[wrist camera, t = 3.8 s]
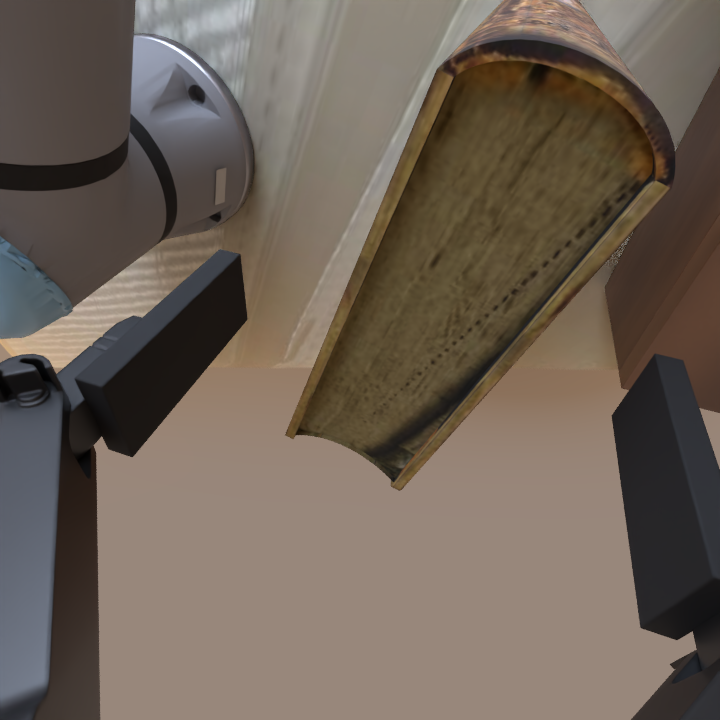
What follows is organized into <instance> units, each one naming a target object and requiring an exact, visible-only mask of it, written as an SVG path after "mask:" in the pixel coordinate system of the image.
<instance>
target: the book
mask: <svg viewBox="0 0 720 720" xmlns="http://www.w3.org/2000/svg"><path fill="white" fill-rule="evenodd" d="M674 176H675V152H674V145H673V142H672V138H671V135H670V132H669V130H668V127H667V125H666V123H665V121H664V119H663V117H662V116H661V114H660V113H659V111H658V110H657V108H656V107H655V106H654V104H653V103H652V101H651V100H650V99H649V97H648V96H647V94H646V93H645V92H644V90H643V89H642V87H641V86H640V85H639V83H638V82H637V81H636V79H635V78H634V76H633V75H632V74H631V72H630V71H629V69H628V68H627V67H626V65H625V64H624V63H623V61H622V60H621V58H620V57H619V56H618V54H617V53H616V51H615V50H614V49H613V47H612V46H611V45H610V43H609V42H608V40H607V39H606V38H605V36H604V35H603V33H602V32H601V31H600V29H599V28H598V27H597V25H596V24H595V22H594V21H593V20H592V18H591V17H590V15H589V14H588V13H587V11H586V10H585V9H584V7H583V6H582V4H581V3H580V2H579V1H578V0H504V1H503V2H502V3H501V4H500V5H499V6H498V7H497V8H496V9H495V10H494V11H493V12H492V13H491V14H490V15H489V16H488V17H487V18H486V19H485V20H484V21H483V22H482V23H481V24H480V25H479V26H478V27H477V28H476V29H475V30H474V31H473V33H472V34H471V35H470V36H469V37H468V38H467V39H466V40H465V41H464V42H463V43H462V44H461V45H460V46H459V47H458V48H457V49H456V50H455V51H454V52H453V53H452V54H451V55H450V56H449V57H448V58H447V59H446V60H445V61H444V62H443V63H442V64H441V66H440V67H439V68H438V69H437V70H436V73H435V75H434V78H433V80H432V83H431V85H430V87H429V90H428V92H427V95H426V97H425V99H424V102H423V104H422V107H421V109H420V111H419V114H418V116H417V119H416V121H415V123H414V126H413V128H412V131H411V133H410V136H409V138H408V140H407V143H406V145H405V148H404V150H403V152H402V155H401V157H400V160H399V162H398V164H397V167H396V169H395V172H394V174H393V176H392V179H391V181H390V184H389V186H388V188H387V191H386V193H385V196H384V198H383V201H382V203H381V205H380V208H379V210H378V213H377V215H376V217H375V220H374V222H373V225H372V227H371V229H370V232H369V234H368V237H367V239H366V241H365V244H364V246H363V249H362V251H361V254H360V256H359V258H358V261H357V263H356V266H355V268H354V270H353V273H352V275H351V278H350V280H349V282H348V285H347V287H346V290H345V292H344V294H343V297H342V299H341V302H340V304H339V306H338V309H337V311H336V314H335V316H334V319H333V321H332V323H331V326H330V328H329V331H328V333H327V335H326V338H325V340H324V343H323V345H322V347H321V350H320V352H319V355H318V357H317V359H316V362H315V364H314V367H313V369H312V372H311V374H310V376H309V379H308V381H307V384H306V386H305V388H304V391H303V393H302V396H301V398H300V400H299V403H298V405H297V408H296V410H295V413H294V415H293V417H292V420H291V422H290V424H289V427H288V429H287V432H286V434H285V435H286V436H288V437H290V438H292V439H294V437H295V435H308V436H315V437H320V438H324V439H328V440H331V441H334V442H336V443H339V444H341V445H343V446H345V447H348V448H350V449H351V450H353V451H355V452H357V453H358V454H360V455H362V456H363V457H365V458H366V459H367V460H369V461H370V462H371V463H373V464H374V465H375V466H377V467H378V468H379V469H380V470H382V471H383V472H384V473H385V474H386V475H387V476H388V477H389V478H390V479H391V487H393V488H395V489H397V490H402V489H403V488H404V486H405V485H406V484H407V483H408V482H409V481H410V480H411V478H412V477H413V476H414V475H415V474H416V473H417V472H418V470H420V468H421V467H422V466H423V465H424V464H425V463H426V462H427V461H428V460H429V458H430V457H431V456H432V455H433V454H434V452H436V451H437V449H438V448H439V447H440V446H441V445H442V444H443V443H444V442H445V441H446V439H447V438H448V437H449V436H450V435H451V434H452V433H453V432H454V430H455V429H456V428H457V427H458V426H459V425H460V424H461V422H463V420H464V419H465V418H466V417H467V416H468V415H469V414H470V413H471V411H472V410H473V409H474V408H475V407H476V406H477V405H478V404H479V402H480V401H481V400H482V399H483V398H484V397H485V396H486V395H487V394H488V393H489V391H490V390H491V389H492V388H493V387H494V386H495V385H496V384H497V383H498V381H499V380H500V379H501V378H502V377H503V376H504V375H505V374H506V373H507V371H508V370H509V369H510V368H511V367H512V366H513V365H514V364H515V362H516V361H517V360H518V359H519V358H520V357H521V356H522V355H523V354H524V352H525V351H526V350H527V349H528V348H529V347H530V346H531V345H532V344H533V342H534V341H535V340H536V339H537V338H538V337H539V336H540V335H541V333H542V332H543V331H544V330H545V329H546V328H547V327H548V326H549V325H550V323H551V322H552V321H553V320H554V319H555V318H556V317H557V316H558V315H559V313H560V312H561V311H562V310H563V309H564V308H565V307H566V306H567V304H568V303H569V302H570V301H571V300H572V299H573V298H574V297H575V296H576V294H577V293H578V292H579V291H580V290H581V289H582V288H583V287H584V286H585V284H586V283H587V282H588V281H589V280H590V279H591V278H592V277H593V275H594V274H595V273H596V272H597V271H598V270H599V269H600V268H601V267H602V265H603V264H604V263H605V262H606V261H607V260H608V259H609V258H610V257H611V255H612V254H613V253H614V252H615V251H616V250H617V249H618V248H619V246H620V245H621V244H622V243H623V242H624V241H625V240H626V239H627V238H628V236H629V235H630V234H631V233H632V232H633V231H634V230H635V229H636V228H637V226H638V225H639V224H640V223H641V222H642V221H643V220H644V219H645V218H646V216H647V215H648V214H649V213H650V212H651V211H652V210H653V209H654V207H655V206H656V205H657V204H658V203H659V202H660V201H661V200H662V199H663V197H664V196H665V195H666V194H667V193H668V192H669V191H670V190H671V188H672V185H673V181H674Z"/></svg>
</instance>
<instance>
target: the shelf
mask: <svg viewBox="0 0 720 720" xmlns="http://www.w3.org/2000/svg"><path fill="white" fill-rule="evenodd" d="M605 294H606V299H607V305H608V311H609V317H610V323H611V329H612V334H613V340H614V346H615V352H616V358H617V364H618V369H619V376H620V382H621V388H623V389H627V390H630V389H631V387H632V386H633V384H634V383H635V381H636V380H637V378H638V377H639V375H640V374H641V373H642V371H643V370H644V368H645V367H646V365H647V364H648V362H649V361H650V360H651V358H652V357H653V355H654V354H659V355H664V356H668V357H672V358H676V359H680V360H683V361H684V364H685V367H686V370H687V373H688V376H689V379H690V382H691V385H692V388H693V391H694V394H695V397H696V400H697V403H698V406H699V408H702V409H706V410H710V411H714V412H718V413H720V68H719V70H718V72H717V73H716V75H715V77H714V79H713V81H712V83H711V85H710V87H709V89H708V91H707V93H706V95H705V96H704V98H703V100H702V102H701V104H700V106H699V108H698V110H697V112H696V114H695V116H694V117H693V119H692V121H691V123H690V125H689V127H688V129H687V131H686V133H685V135H684V137H683V139H682V140H681V142H680V144H679V146H678V148H677V150H676V152H675V176H674V181H673V185H672V188H671V190H670V191H669V192H668V193H667V194H666V195H665V196H664V197H663V199H662V200H661V201H660V202H659V203H658V204H657V205H656V206H655V207H654V209H653V210H652V211H651V212H650V213H649V214H648V215H647V216H646V218H645V219H644V220H643V221H642V222H641V223H640V224H639V225H638V226H637V228H636V229H635V230H634V232H633V234H632V236H631V238H630V240H629V242H628V244H627V246H626V248H625V249H624V251H623V253H622V255H621V257H620V259H619V261H618V263H617V265H616V267H615V269H614V271H613V272H612V274H611V276H610V278H609V280H608V282H607V284H606V286H605Z"/></svg>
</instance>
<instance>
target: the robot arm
mask: <svg viewBox="0 0 720 720" xmlns="http://www.w3.org/2000/svg"><path fill="white" fill-rule="evenodd" d="M134 19H135V0H0V339H6V338H22V337H26V336H29V335H31V334H33V333H35V332H37V331H38V330H40V329H42V328H44V327H45V326H47V325H49V324H51V323H52V322H54V321H56V320H58V319H59V318H61V317H64V316H67V315H68V314H69V313H71V312H72V311H73V310H72V309H73V307H74V306H76V305H77V304H78V303H80V302H81V301H82V300H84V299H85V298H86V297H88V296H89V295H90V294H92V293H93V292H94V291H96V290H97V289H98V288H100V287H101V286H102V285H104V284H105V283H106V282H108V281H109V280H110V279H112V278H113V277H114V276H116V275H117V274H118V273H120V272H121V271H122V270H124V269H125V268H126V267H128V266H129V265H130V264H132V263H133V262H134V261H136V260H137V259H138V258H140V257H141V256H142V255H144V254H145V253H146V252H148V251H149V250H150V249H152V248H153V247H154V246H156V245H157V244H158V243H160V242H161V241H162V240H164V239H169V238H174V237H179V236H184V235H189V234H194V233H199V232H204V231H207V230H210V229H212V228H214V227H216V226H218V225H220V224H222V223H224V222H225V221H226V220H228V219H229V218H230V217H231V216H233V215H234V214H235V213H236V212H237V211H238V210H239V209H240V208H241V206H242V205H243V204H244V202H245V200H246V198H247V197H248V194H249V191H250V188H251V185H252V180H253V172H254V157H253V148H252V143H251V138H250V134H249V131H248V127H247V125H246V122H245V119H244V117H243V115H242V112H241V110H240V108H239V106H238V104H237V102H236V100H235V99H234V97H233V95H232V94H231V92H230V91H229V89H228V88H227V86H226V85H225V83H224V82H223V81H222V79H221V78H220V77H219V76H218V75H217V73H216V72H215V71H214V70H213V69H212V68H211V67H210V66H209V65H208V64H207V63H206V62H205V61H204V60H203V59H201V58H200V57H199V56H198V55H197V54H195V53H194V52H192V51H191V50H190V49H188V48H186V47H185V46H183V45H181V44H180V43H178V42H175V41H173V40H171V39H168V38H165V37H163V36H158V35H154V34H134ZM246 321H247V309H246V300H245V291H244V282H243V273H242V264H241V255H240V254H238V253H233V252H229V251H225V250H221V249H220V250H218V251H217V252H216V253H215V254H214V255H213V256H212V257H211V258H209V259H208V260H207V261H206V262H205V263H204V264H203V265H202V266H200V267H199V268H198V269H197V270H196V271H195V272H194V273H192V274H191V275H190V276H189V277H188V278H187V279H186V280H185V281H183V282H182V283H181V284H180V285H179V286H178V287H177V288H176V289H174V290H173V291H172V292H171V293H170V294H169V295H168V296H167V297H165V298H164V299H163V300H162V301H161V302H160V303H159V304H158V305H156V306H155V307H154V308H153V309H152V310H151V311H150V312H149V313H147V314H146V315H145V316H144V317H143V318H141V317H137V316H132V317H130V318H127V319H125V320H123V321H121V322H119V323H117V324H115V325H114V326H113V327H112V328H111V329H109V330H108V331H107V332H106V333H105V334H103V337H100V338H99V339H98V340H96V341H95V342H94V343H93V345H92V346H89V347H88V348H87V349H86V350H85V351H83V352H82V353H81V354H80V355H79V356H77V357H76V358H75V359H74V360H73V361H72V362H70V363H69V364H68V365H67V366H66V367H64V368H63V369H62V370H61V371H60V372H59V373H57V374H56V373H55V371H54V369H53V367H52V365H51V363H50V361H49V360H48V359H47V358H45V357H44V356H41V355H36V354H26V355H19V356H15V357H12V358H9V359H7V360H5V361H3V362H1V363H0V720H100V680H99V613H98V546H97V482H96V481H97V480H96V451H95V448H94V446H93V445H94V444H95V443H96V442H97V441H98V440H99V439H100V437H101V436H102V437H103V439H104V441H105V443H106V445H107V447H108V449H110V450H112V451H115V452H119V453H121V454H124V455H127V456H130V457H133V456H134V455H135V454H136V453H137V451H138V450H139V449H140V448H141V446H142V445H143V444H144V443H145V442H146V441H147V439H148V438H149V437H150V436H151V435H152V433H153V432H154V431H155V430H156V429H157V427H158V426H159V425H160V424H161V423H162V421H163V420H164V419H165V418H166V417H167V415H168V414H169V413H170V412H171V411H172V409H173V408H174V407H175V406H176V404H177V403H178V402H179V401H180V400H181V399H182V397H183V396H184V395H185V394H186V393H187V391H188V390H189V389H190V388H191V387H192V385H193V384H194V383H195V382H196V380H197V379H198V378H199V377H200V376H201V375H202V373H203V372H204V371H205V370H206V369H207V367H208V366H209V365H210V364H211V363H212V361H213V360H214V359H215V358H216V357H217V355H218V354H219V353H220V352H221V351H222V349H223V348H224V347H225V346H226V345H227V343H228V342H229V341H230V340H231V339H232V337H233V336H234V335H235V334H236V333H237V331H238V330H239V329H240V328H241V327H242V325H243V324H244V323H245V322H246ZM612 421H613V429H614V436H615V443H616V451H617V458H618V465H619V473H620V480H621V487H622V495H623V502H624V510H625V517H626V524H627V532H628V539H629V546H630V554H631V560H632V569H633V576H634V583H635V590H636V598H637V605H638V613H639V619H640V627H641V628H642V629H646V630H648V631H651V632H654V633H657V634H660V635H663V636H666V637H669V638H672V639H675V640H678V639H680V638H682V637H683V636H685V635H687V634H688V633H690V632H692V631H693V634H694V639H695V643H696V648H697V650H695V651H693V652H691V653H690V654H688V655H686V656H684V657H682V658H680V659H678V660H676V661H675V662H673V663H671V664H670V665H671V666H672V667H673V668H674V669H675V670H674V671H673V673H672V674H671V675H670V676H669V677H668V678H667V679H666V681H665V682H664V683H663V684H662V685H661V686H660V687H659V688H658V690H657V691H656V692H655V693H654V694H653V695H652V696H651V698H650V699H649V700H648V701H647V702H646V703H645V704H644V705H643V707H642V708H641V709H640V710H639V711H638V712H637V713H636V715H635V716H634V717H633V718H632V719H631V720H720V469H719V466H718V464H717V460H716V458H715V454H714V451H713V448H712V446H711V442H710V439H709V436H708V433H707V430H706V427H705V424H704V421H703V418H702V415H701V412H700V409H699V406H698V403H697V400H696V397H695V394H694V391H693V388H692V385H691V382H690V379H689V376H688V373H687V370H686V367H685V364H684V361H683V360H680V359H676V358H672V357H668V356H664V355H659V354H654V355H653V357H652V358H651V360H650V361H649V362H648V364H647V365H646V367H645V368H644V370H643V371H642V373H641V374H640V375H639V377H638V378H637V380H636V381H635V383H634V384H633V386H632V387H631V389H630V390H629V392H628V393H627V395H626V396H625V397H624V399H623V400H622V402H621V403H620V404H619V406H618V407H617V409H616V410H615V412H614V413H613V415H612Z"/></svg>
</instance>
